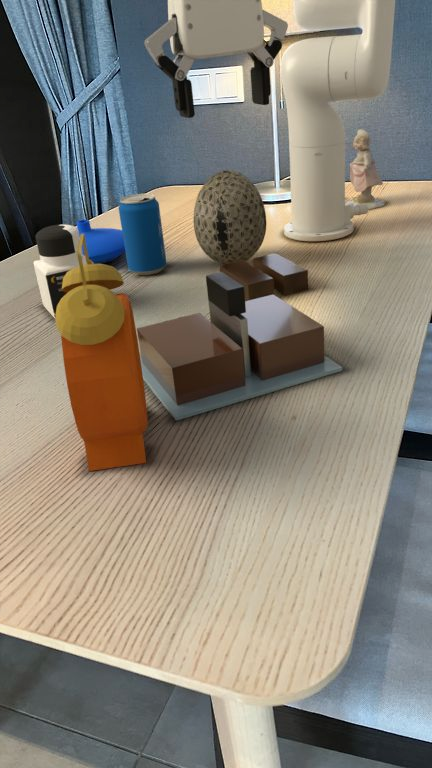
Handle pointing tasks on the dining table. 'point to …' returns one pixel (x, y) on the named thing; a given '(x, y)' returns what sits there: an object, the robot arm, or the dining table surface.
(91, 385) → the alarm clock
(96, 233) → the vase
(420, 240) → the dining table surface
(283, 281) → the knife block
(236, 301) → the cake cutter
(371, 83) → the robot arm
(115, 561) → the dining table surface
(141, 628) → the dining table surface
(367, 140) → the figurine
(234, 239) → the decorative egg
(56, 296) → the medicine bottle
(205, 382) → the cake
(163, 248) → the beverage can
